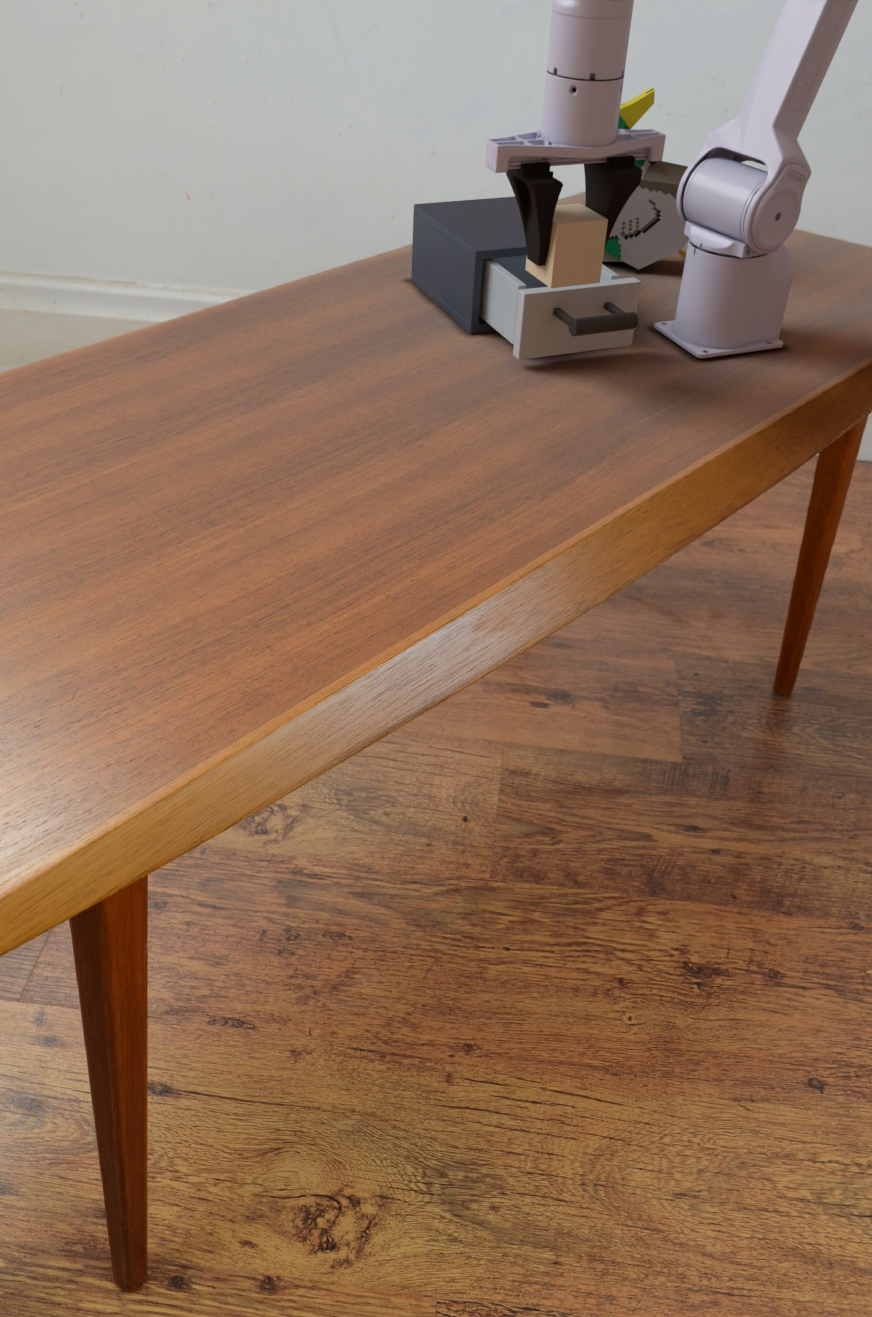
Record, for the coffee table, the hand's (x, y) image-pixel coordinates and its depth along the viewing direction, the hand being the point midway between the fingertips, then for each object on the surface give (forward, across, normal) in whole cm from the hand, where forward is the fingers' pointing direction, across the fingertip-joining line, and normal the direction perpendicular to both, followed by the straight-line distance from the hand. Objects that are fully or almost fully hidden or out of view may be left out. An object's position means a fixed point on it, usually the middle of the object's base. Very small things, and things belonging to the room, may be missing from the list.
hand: (564, 258), depth 93 cm
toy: (+11, -24, -24) cm, 35 cm away
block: (+1, 0, 0) cm, 1 cm away
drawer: (+10, -4, -7) cm, 13 cm away
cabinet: (+10, -4, -19) cm, 22 cm away
